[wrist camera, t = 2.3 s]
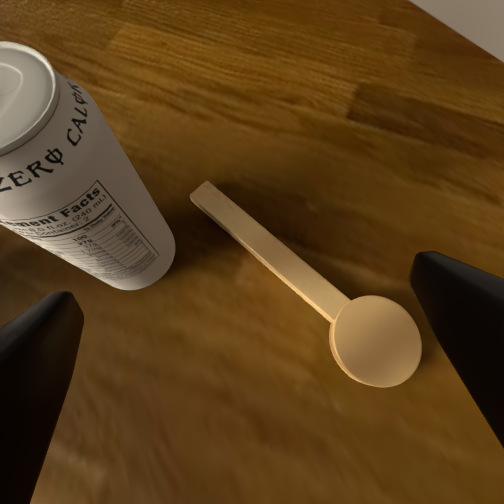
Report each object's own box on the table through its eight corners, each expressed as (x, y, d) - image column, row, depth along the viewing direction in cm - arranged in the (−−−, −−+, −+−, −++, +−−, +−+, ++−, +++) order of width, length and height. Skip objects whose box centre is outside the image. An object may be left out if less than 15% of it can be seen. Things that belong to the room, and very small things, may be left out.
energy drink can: (181, 220, 25) (92, 30, 10) (173, 294, 22) (49, 180, 8) (107, 218, 25) (-82, 26, 10) (92, 292, 22) (-170, 175, 8)
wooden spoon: (173, 217, 25) (169, 210, 24) (224, 171, 26) (223, 163, 25) (382, 406, 20) (390, 409, 19) (429, 337, 22) (439, 336, 21)
